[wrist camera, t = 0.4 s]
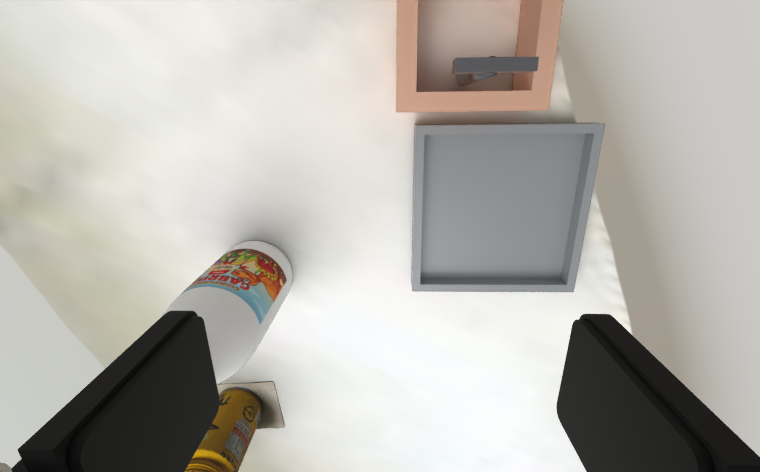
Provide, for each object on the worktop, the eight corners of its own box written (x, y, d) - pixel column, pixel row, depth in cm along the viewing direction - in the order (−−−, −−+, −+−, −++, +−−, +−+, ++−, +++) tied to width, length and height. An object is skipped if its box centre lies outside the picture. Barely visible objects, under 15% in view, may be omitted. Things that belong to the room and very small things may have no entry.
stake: (435, 70, 33) (456, 54, 22) (491, 70, 32) (539, 52, 22) (434, 85, 33) (455, 75, 23) (490, 84, 33) (536, 74, 22)
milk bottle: (305, 290, 41) (231, 450, 22) (244, 310, 42) (122, 477, 23) (276, 229, 38) (164, 348, 19) (212, 251, 39) (47, 384, 20)
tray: (414, 124, 34) (415, 125, 32) (593, 122, 34) (605, 123, 32) (411, 282, 40) (412, 291, 38) (564, 283, 39) (573, 292, 37)
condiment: (208, 384, 46) (147, 476, 34) (273, 380, 45) (234, 472, 34) (222, 428, 48) (170, 528, 37) (285, 425, 48) (251, 525, 36)
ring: (397, -43, 30) (397, -71, 25) (544, -47, 29) (573, -76, 25) (396, 111, 34) (397, 112, 29) (526, 109, 34) (548, 110, 29)
